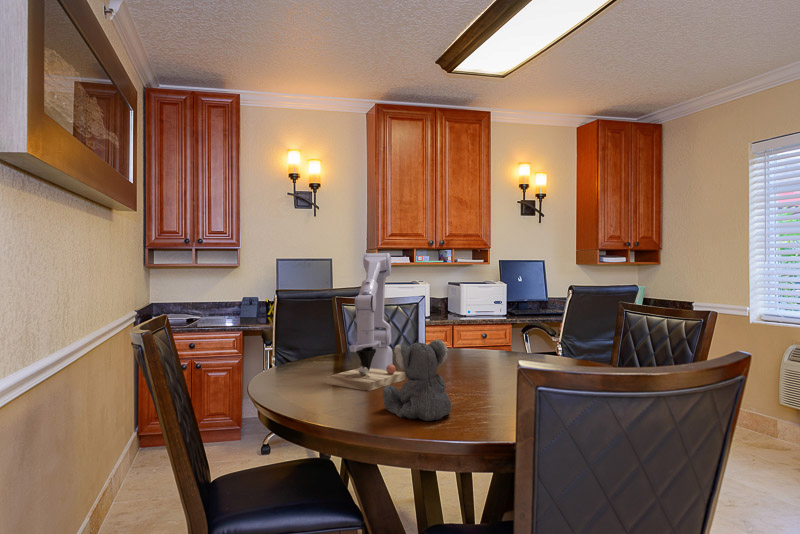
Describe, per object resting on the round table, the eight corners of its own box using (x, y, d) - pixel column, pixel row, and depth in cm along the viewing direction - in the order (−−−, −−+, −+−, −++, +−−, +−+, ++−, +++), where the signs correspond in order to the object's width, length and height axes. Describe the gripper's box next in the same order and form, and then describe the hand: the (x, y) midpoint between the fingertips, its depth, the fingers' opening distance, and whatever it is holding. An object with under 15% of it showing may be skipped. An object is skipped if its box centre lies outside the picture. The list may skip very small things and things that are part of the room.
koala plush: (437, 402, 149) (436, 334, 149) (467, 419, 132) (466, 342, 132) (379, 408, 143) (379, 337, 143) (403, 427, 126) (403, 346, 126)
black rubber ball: (363, 367, 188) (363, 358, 188) (370, 368, 186) (370, 359, 186) (358, 369, 185) (358, 360, 185) (365, 370, 183) (365, 360, 183)
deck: (364, 373, 189) (364, 366, 189) (405, 379, 179) (405, 372, 179) (326, 383, 173) (326, 376, 173) (369, 391, 163) (369, 383, 163)
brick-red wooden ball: (389, 372, 179) (389, 363, 179) (397, 373, 177) (397, 364, 177) (384, 374, 176) (384, 364, 176) (392, 375, 174) (391, 365, 174)
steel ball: (358, 363, 175) (355, 373, 174) (366, 365, 173) (363, 374, 172) (363, 366, 177) (361, 375, 176) (371, 367, 175) (368, 377, 174)
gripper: (369, 327, 184) (369, 365, 184) (342, 331, 172) (342, 372, 172) (385, 328, 180) (386, 367, 180) (359, 333, 168) (359, 375, 168)
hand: (366, 370), depth 175 cm, fingers closed, pressing on steel ball
